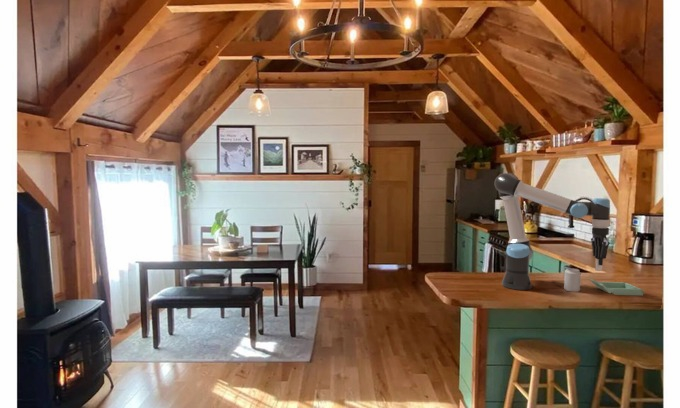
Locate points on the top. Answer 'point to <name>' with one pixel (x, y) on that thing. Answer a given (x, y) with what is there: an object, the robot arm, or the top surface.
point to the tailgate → (600, 285)
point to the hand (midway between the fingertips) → (598, 270)
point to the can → (572, 280)
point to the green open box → (622, 288)
